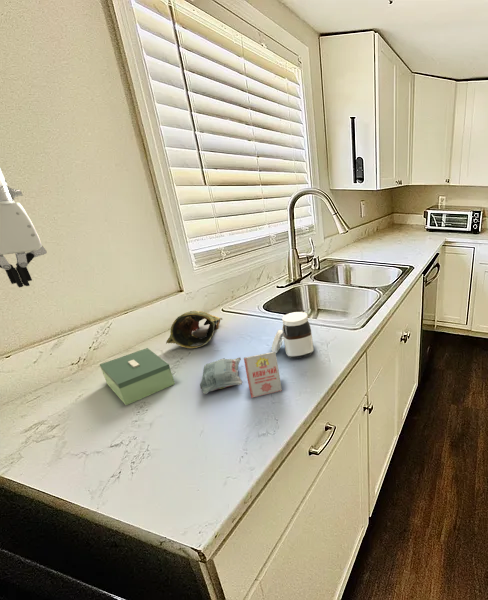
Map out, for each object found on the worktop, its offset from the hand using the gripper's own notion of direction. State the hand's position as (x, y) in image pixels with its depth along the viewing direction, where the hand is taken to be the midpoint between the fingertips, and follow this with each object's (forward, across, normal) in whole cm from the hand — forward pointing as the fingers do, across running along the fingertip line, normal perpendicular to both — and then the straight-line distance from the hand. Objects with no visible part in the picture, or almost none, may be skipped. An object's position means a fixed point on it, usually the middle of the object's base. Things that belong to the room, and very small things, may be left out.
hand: (23, 285), depth 70 cm
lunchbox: (+24, -6, +12) cm, 28 cm away
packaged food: (+27, -24, +28) cm, 46 cm away
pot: (+27, -31, 0) cm, 41 cm away
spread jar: (+27, -43, +30) cm, 59 cm away
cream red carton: (+27, -28, +40) cm, 56 cm away
